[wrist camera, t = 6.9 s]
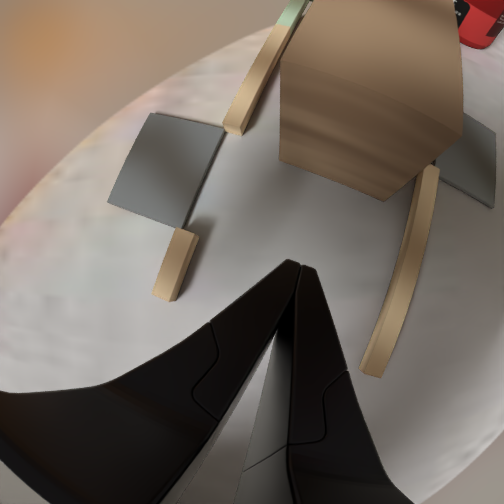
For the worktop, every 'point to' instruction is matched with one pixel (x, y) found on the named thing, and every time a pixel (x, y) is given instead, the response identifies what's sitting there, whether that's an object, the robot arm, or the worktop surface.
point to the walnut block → (371, 91)
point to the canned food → (479, 21)
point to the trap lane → (209, 137)
